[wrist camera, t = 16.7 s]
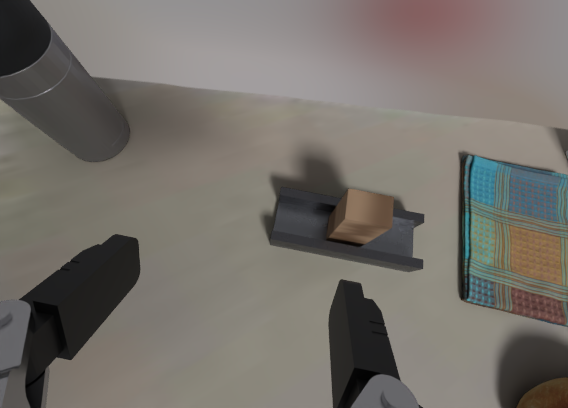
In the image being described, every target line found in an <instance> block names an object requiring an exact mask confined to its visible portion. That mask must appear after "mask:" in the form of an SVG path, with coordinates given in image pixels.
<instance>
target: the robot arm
mask: <svg viewBox="0 0 568 408" xmlns="http://www.w3.org/2000/svg"><path fill="white" fill-rule="evenodd" d="M0 99H1V100H2V101H4V102H5V103H6V104H8V105H9V106H10V107H12V108H13V109H14V110H15V111H16V112H18V113H19V114H20V115H22V116H23V117H24V118H26V119H27V120H28V121H30V122H31V123H32V124H34V125H35V126H36V127H37V128H39V129H40V130H41V131H43V132H44V133H45V134H47V135H48V136H49V137H51V138H52V139H53V140H55V141H56V142H57V143H59V144H60V145H61V146H63V147H64V148H66V149H67V150H69V151H70V152H71V153H73V154H74V155H75V156H77V157H78V158H80V159H82V160H84V161H89V162H99V161H104V160H107V159H110V158H112V157H113V156H115V155H117V154H118V153H119V152H120V151H121V150H122V149H123V148H124V147H125V145H126V144H127V142H128V139H129V134H130V130H129V126H128V124H127V122H126V120H125V119H124V118H123V117H122V115H121V114H120V113H119V112H118V110H117V109H116V108H115V107H114V105H113V104H112V103H111V101H110V100H109V99H108V98H107V96H106V95H105V94H104V93H103V91H102V90H101V89H100V88H99V86H98V85H97V84H96V82H95V81H94V80H93V79H92V77H91V76H90V75H89V74H88V73H87V71H86V70H85V69H84V67H83V66H82V65H81V64H80V62H79V61H78V60H77V59H76V57H75V56H74V55H73V54H72V52H71V51H70V50H69V48H68V47H67V46H66V45H65V44H64V42H63V41H62V40H61V39H60V37H59V36H58V35H57V34H56V32H55V31H54V30H53V28H52V27H51V26H50V25H49V23H48V22H47V21H46V20H45V18H44V17H43V16H42V15H41V14H40V12H39V11H38V10H37V9H36V7H35V6H34V5H33V4H32V3H31V1H30V0H0ZM139 275H140V258H139V244H138V240H137V239H136V238H133V237H128V236H123V235H118V234H115V235H113V236H111V237H110V238H109V239H108V240H107V241H105V242H104V243H103V244H102V245H99V244H97V245H95V246H93V247H90V248H88V249H86V250H83V251H82V252H80V253H79V254H78V255H77V256H75V257H74V258H73V259H71V261H70V262H67V263H66V264H65V265H64V266H62V267H61V269H60V270H57V271H56V272H54V273H53V274H52V275H51V276H49V277H48V278H47V279H45V280H44V281H43V282H41V283H40V284H39V285H38V286H36V287H35V288H34V289H32V290H31V291H30V292H28V293H27V294H26V295H25V296H23V297H22V298H21V299H19V300H6V301H1V302H0V408H46V402H47V392H48V382H49V372H50V371H49V365H50V364H51V362H52V361H53V360H54V359H55V358H56V357H58V358H63V359H68V360H72V359H73V357H74V356H75V355H76V354H77V353H78V351H79V350H80V349H81V348H82V347H83V346H84V344H85V343H86V342H87V341H88V340H89V338H90V337H91V336H92V335H93V334H94V333H95V331H96V330H97V329H98V328H99V327H100V325H101V324H102V323H103V322H104V321H105V320H106V318H107V317H108V316H109V315H110V314H111V312H112V311H113V310H114V309H115V308H116V307H117V305H118V304H119V303H120V302H121V301H122V299H123V298H124V297H125V296H126V295H127V294H128V292H129V291H130V290H131V289H132V288H133V286H134V285H135V284H136V282H137V280H138V278H139ZM384 325H385V323H384V320H383V316H382V312H381V310H380V309H379V308H378V306H377V305H376V303H375V302H374V301H373V300H372V299H367V298H364V295H363V290H362V286H361V284H360V283H357V282H352V281H347V280H342V279H341V280H340V281H339V284H338V287H337V290H336V293H335V296H334V299H333V302H332V305H331V309H330V314H329V342H330V360H331V378H332V397H333V408H423V407H421V406H420V405H419V404H418V403H417V400H416V398H415V397H414V395H413V393H412V392H411V391H410V390H409V388H408V387H407V386H406V385H404V384H403V383H402V382H401V380H400V377H399V374H398V370H397V366H396V363H395V359H394V356H393V352H392V348H391V345H390V341H389V338H388V337H387V335H388V334H387V330H386V327H385V326H384Z"/></svg>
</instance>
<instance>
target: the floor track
mask: <svg viewBox="0 0 568 408" xmlns="http://www.w3.org/2000/svg"><path fill="white" fill-rule="evenodd" d="M341 199H342V198H337V197H332V196H326V195H321V194H316V193H311V192H306V191H301V190H295V189H290V188H285V187H281V191H280V197H279V205H278V209H277V214H276V219H275V224H274V229H273V230H272V234H271V239H270V245H273V246H278V247H283V248H288V249H293V250H299V251H304V252H309V253H314V254H319V255H324V256H329V257H334V258H339V259H344V260H349V261H354V262H359V263H365V264H370V265H375V266H380V267H385V268H390V269H395V270H400V271H405V272H412V271H416V270H421V269H423V260H422V259H417V258H412V255H413V228H415V227H417V226H418V225H420V224H422V223H424V214H420V213H415V212H409V211H404V210H399V209H394V208H393V221H392V228H391V229H389V230H388V231H386V232H384V233H383V234H381V235H379V236H378V237H376V238H375V239H373V240H371V241H370V242H368V243H366V244H365V245H363V246H361V247H357V246H352V245H347V244H341V243H336V242H331V241H326V234H327V226H328V219H329V216H330V215H331V213H332V212H333V210H334V209H335V207H336V206H337V205H338V203H339V202H340V200H341Z"/></svg>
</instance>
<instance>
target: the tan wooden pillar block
mask: <svg viewBox="0 0 568 408" xmlns="http://www.w3.org/2000/svg"><path fill="white" fill-rule="evenodd" d="M393 203H394V197H391V196H386V195H381V194H375V193H370V192H365V191H359V190H354V189H348V190H347V191H346V193H345V194H344V196H343V197H342V199H341V200H340V202H339V203H338V205H337V206H336V207H335V209H334V210H333V212H332V213H331V215H330V216H329V219H328V226H327V234H326V241H331V242H336V243H341V244H347V245H352V246H357V247H361V246H363V245H365V244H366V243H368V242H370V241H371V240H373V239H375V238H376V237H378V236H379V235H381V234H383V233H384V232H386V231H388V230H389V229H391V228H392V221H393Z"/></svg>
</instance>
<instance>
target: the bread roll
mask: <svg viewBox="0 0 568 408" xmlns="http://www.w3.org/2000/svg"><path fill="white" fill-rule="evenodd" d="M517 408H568V377H565V378H557V379H553V380H549V381H546V382H544V383H541V384H539V385H537V386H536V387H534V388H532V389H531V390H529V391H528V392H527V393H525V394H524V396H523V397H522V398H521V399H520V401H519V403H518V405H517Z"/></svg>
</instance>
